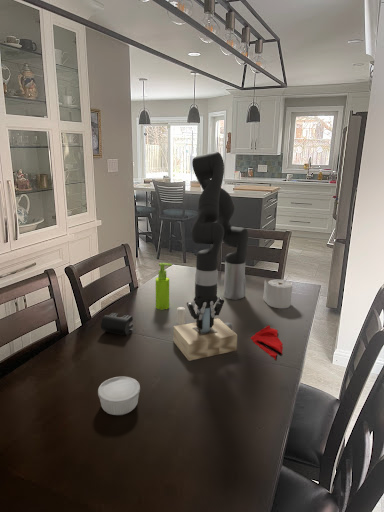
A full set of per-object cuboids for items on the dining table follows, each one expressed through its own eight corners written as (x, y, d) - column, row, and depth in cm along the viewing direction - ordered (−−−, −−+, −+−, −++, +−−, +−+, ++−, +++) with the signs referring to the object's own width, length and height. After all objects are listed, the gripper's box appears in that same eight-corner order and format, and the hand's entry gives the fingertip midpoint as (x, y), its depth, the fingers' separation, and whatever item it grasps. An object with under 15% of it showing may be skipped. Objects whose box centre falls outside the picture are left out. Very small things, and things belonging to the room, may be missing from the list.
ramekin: (122, 387, 111) (121, 371, 109) (149, 403, 104) (148, 386, 103) (90, 406, 103) (89, 389, 101) (117, 425, 96) (116, 407, 94)
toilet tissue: (291, 309, 166) (293, 288, 164) (263, 307, 168) (265, 286, 165) (289, 300, 177) (291, 280, 174) (263, 298, 178) (264, 278, 176)
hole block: (217, 332, 144) (218, 317, 143) (236, 350, 132) (237, 334, 130) (173, 341, 137) (173, 325, 135) (188, 360, 125) (189, 343, 123)
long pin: (206, 335, 136) (207, 304, 133) (210, 339, 133) (211, 308, 130) (198, 337, 135) (199, 306, 131) (202, 341, 132) (203, 309, 128)
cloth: (255, 324, 153) (255, 319, 153) (290, 329, 149) (291, 324, 149) (243, 356, 129) (244, 350, 129) (285, 364, 125) (285, 358, 125)
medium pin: (183, 324, 151) (183, 306, 149) (186, 327, 148) (186, 309, 146) (175, 325, 149) (175, 307, 147) (178, 328, 147) (178, 311, 145)
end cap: (101, 334, 141) (100, 318, 139) (110, 326, 148) (110, 310, 146) (125, 339, 138) (124, 322, 136) (134, 330, 145) (133, 314, 143)
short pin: (229, 333, 144) (229, 321, 142) (233, 337, 141) (234, 325, 139) (221, 335, 142) (222, 323, 141) (225, 339, 140) (226, 326, 138)
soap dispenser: (171, 310, 163) (171, 265, 158) (155, 309, 163) (154, 265, 158) (172, 304, 169) (172, 261, 164) (156, 304, 169) (156, 261, 164)
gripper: (219, 275, 134) (217, 320, 139) (182, 280, 128) (182, 326, 133) (230, 282, 127) (227, 328, 132) (191, 287, 122) (190, 336, 127)
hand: (204, 327), depth 133 cm, fingers open, 3 cm apart
